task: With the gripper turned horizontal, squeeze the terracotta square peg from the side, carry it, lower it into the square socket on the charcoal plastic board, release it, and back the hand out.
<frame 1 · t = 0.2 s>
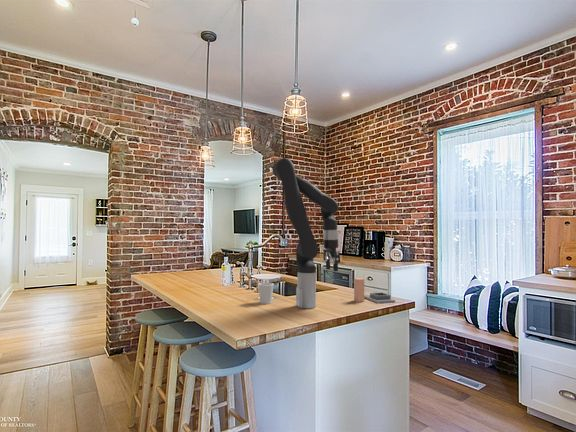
hand: (331, 270, 172), 18 cm above the table, tool pointing down, fingers open, 8 cm apart
terracotta peg: (359, 301, 181), on the table
socket board: (378, 299, 184), on the table
dixie cup: (265, 303, 175), on the table
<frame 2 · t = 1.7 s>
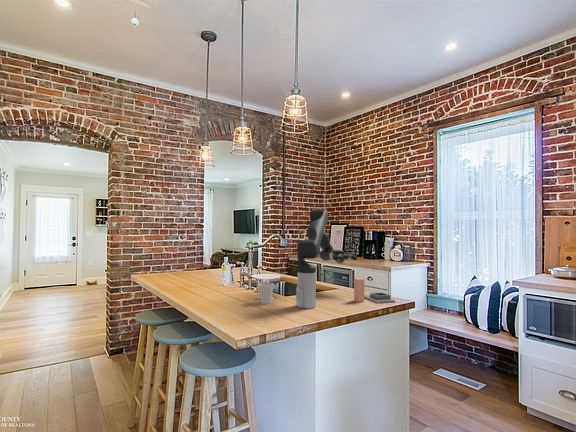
hand: (349, 258, 193), 22 cm above the table, tool horizontal, fingers open, 8 cm apart
nothing on the table moved.
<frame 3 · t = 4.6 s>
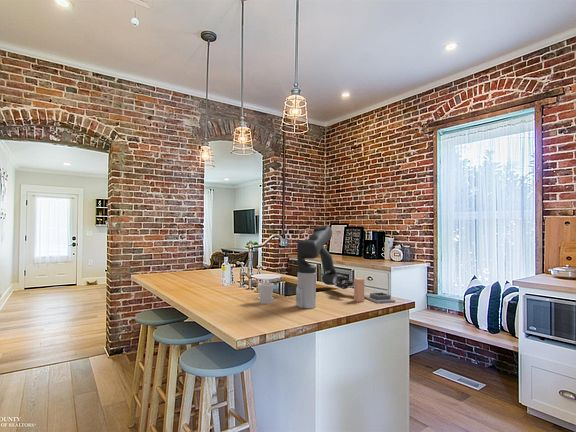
hand: (354, 286, 187), 7 cm above the table, tool horizontal, fingers open, 8 cm apart
nothing on the table moved.
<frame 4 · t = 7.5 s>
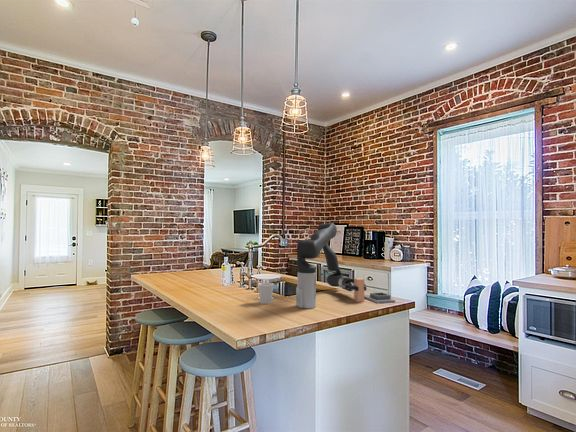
hand: (361, 288, 178), 7 cm above the table, tool horizontal, fingers closed on terracotta peg, 4 cm apart
terracotta peg: (359, 300, 181), on the table, touching gripper
everything else where it was.
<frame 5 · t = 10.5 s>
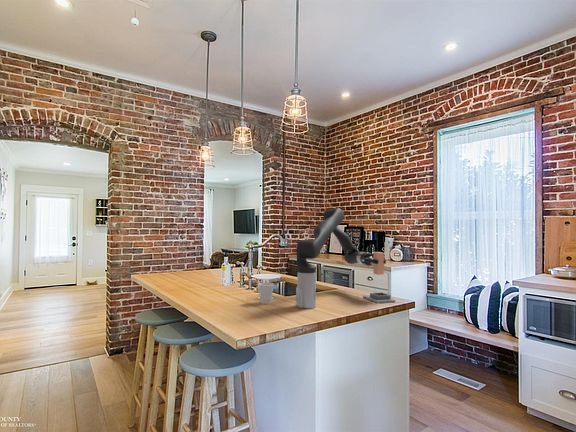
hand: (381, 261, 183), 21 cm above the table, tool horizontal, fingers closed on terracotta peg, 4 cm apart
terracotta peg: (378, 274, 185), point 14 cm above the table, touching gripper
everything else where it was.
when the fingers open (9 cm above the table, at t = 13.7 s): terracotta peg stays where it is, resting on socket board.
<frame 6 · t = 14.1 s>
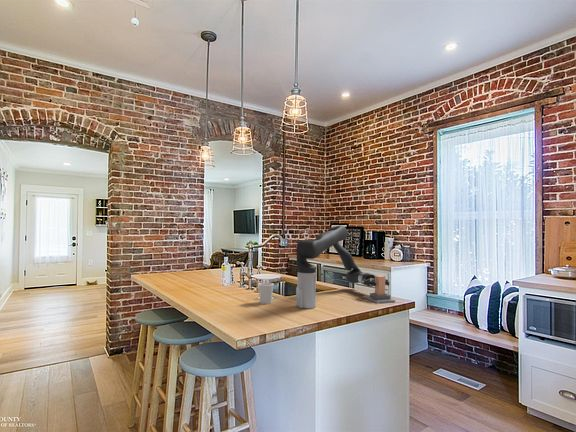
hand: (382, 283, 183), 9 cm above the table, tool horizontal, fingers open, 7 cm apart
terracotta peg: (380, 297, 185), point 1 cm above the table, touching socket board
everything else where it was.
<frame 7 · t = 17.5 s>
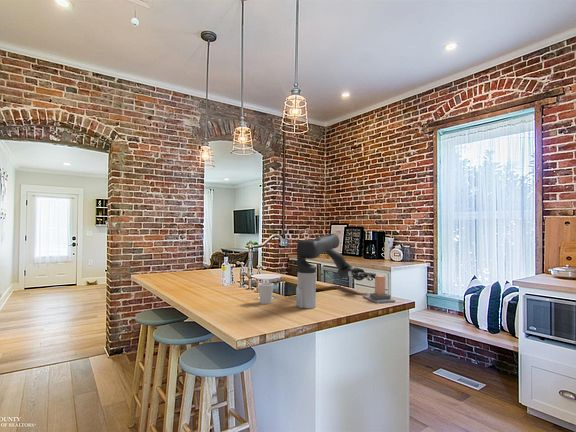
hand: (369, 277, 195), 11 cm above the table, tool horizontal, fingers open, 8 cm apart
nothing on the table moved.
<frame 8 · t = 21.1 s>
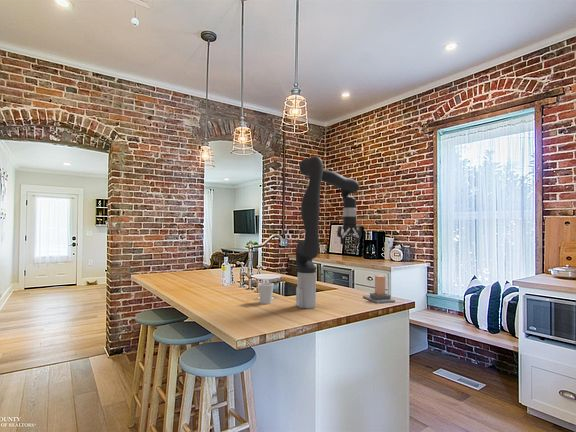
hand: (349, 244, 188), 30 cm above the table, tool pointing down, fingers open, 8 cm apart
nothing on the table moved.
at the end: terracotta peg 0.1 cm from the target spot on the socket board, point 1.0 cm above the socket board's base; terracotta peg tilted 0°; the gripper is holding nothing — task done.
